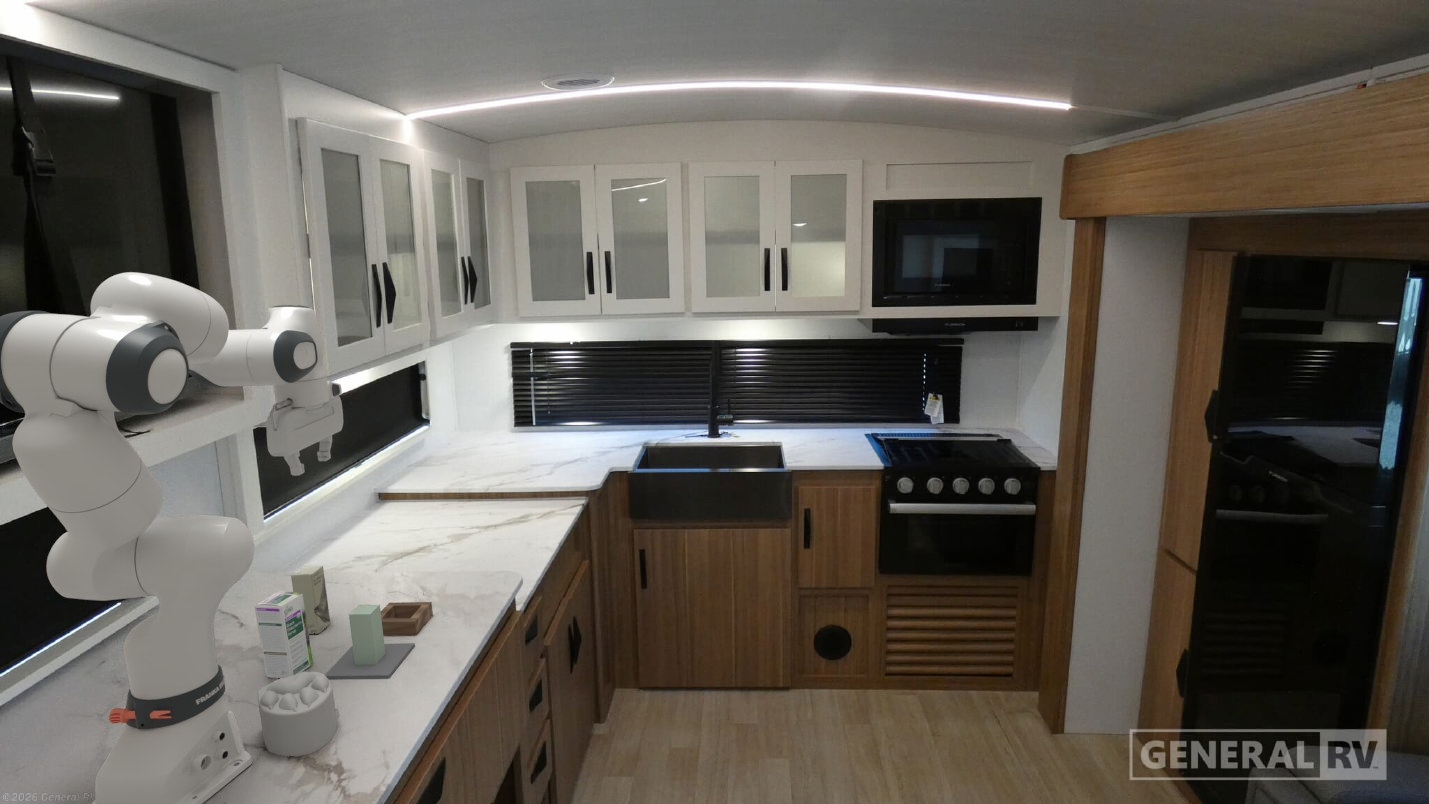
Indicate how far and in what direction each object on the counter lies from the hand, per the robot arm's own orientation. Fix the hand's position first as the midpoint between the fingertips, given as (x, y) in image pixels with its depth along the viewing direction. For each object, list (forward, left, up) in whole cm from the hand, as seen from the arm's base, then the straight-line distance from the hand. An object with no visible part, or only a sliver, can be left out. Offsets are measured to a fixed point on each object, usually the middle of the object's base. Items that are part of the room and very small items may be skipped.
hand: (311, 467), depth 153 cm
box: (+9, +9, -37) cm, 39 cm away
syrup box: (-8, +5, -37) cm, 38 cm away
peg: (-5, -9, -36) cm, 38 cm away
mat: (-5, -9, -37) cm, 38 cm away
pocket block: (+10, -9, -37) cm, 39 cm away
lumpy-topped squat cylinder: (-28, -8, -37) cm, 47 cm away
